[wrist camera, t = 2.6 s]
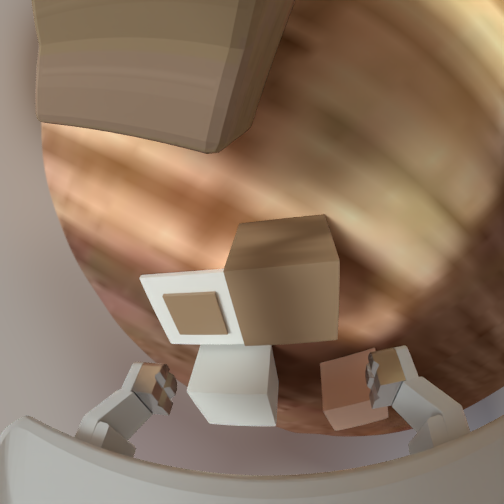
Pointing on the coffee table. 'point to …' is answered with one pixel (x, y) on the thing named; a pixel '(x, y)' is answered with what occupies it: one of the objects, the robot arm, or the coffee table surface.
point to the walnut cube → (284, 281)
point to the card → (193, 306)
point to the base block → (235, 384)
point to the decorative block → (156, 66)
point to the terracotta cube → (348, 392)
